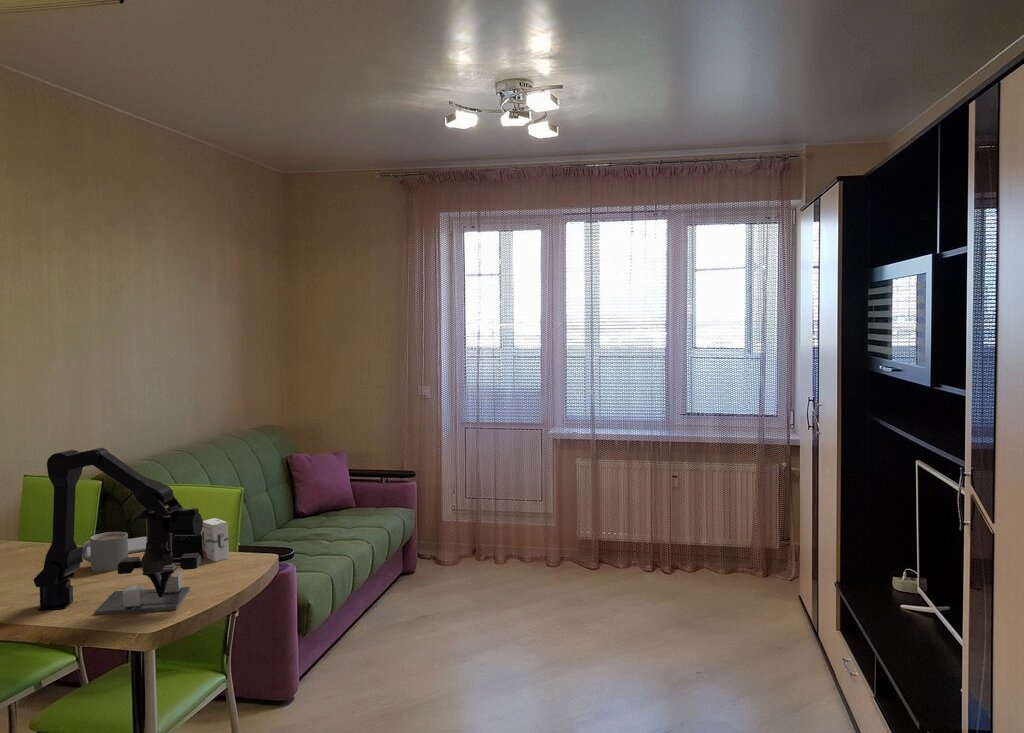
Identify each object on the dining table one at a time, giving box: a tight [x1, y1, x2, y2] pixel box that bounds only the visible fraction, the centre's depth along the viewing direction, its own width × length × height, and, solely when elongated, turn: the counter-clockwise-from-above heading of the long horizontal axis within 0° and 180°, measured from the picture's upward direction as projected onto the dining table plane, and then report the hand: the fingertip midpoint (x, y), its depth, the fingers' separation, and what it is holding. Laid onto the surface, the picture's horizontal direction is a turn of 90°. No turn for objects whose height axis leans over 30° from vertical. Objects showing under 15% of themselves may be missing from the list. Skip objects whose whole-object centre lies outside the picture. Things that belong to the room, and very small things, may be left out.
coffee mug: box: [81, 531, 129, 573], centre depth 238 cm, size 13×10×10 cm
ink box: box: [201, 517, 230, 562], centre depth 247 cm, size 9×5×12 cm, turn 46°
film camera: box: [171, 532, 203, 558], centre depth 247 cm, size 15×10×9 cm, turn 139°
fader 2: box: [165, 571, 183, 592], centre depth 213 cm, size 4×4×4 cm
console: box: [94, 586, 191, 616], centre depth 207 cm, size 19×16×1 cm
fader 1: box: [122, 584, 145, 607], centre depth 202 cm, size 4×4×4 cm
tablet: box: [87, 535, 147, 556], centre depth 258 cm, size 16×26×2 cm, turn 128°
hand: (161, 596), depth 203 cm, fingers closed
